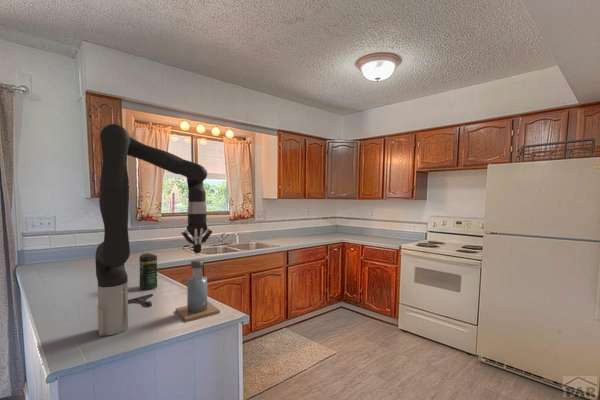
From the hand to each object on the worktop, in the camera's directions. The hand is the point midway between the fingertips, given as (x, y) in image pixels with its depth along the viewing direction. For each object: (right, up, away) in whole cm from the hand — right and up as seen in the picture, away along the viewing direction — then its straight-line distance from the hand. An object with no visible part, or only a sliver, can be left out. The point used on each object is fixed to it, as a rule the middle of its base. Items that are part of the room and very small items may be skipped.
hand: (197, 253), depth 123 cm
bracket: (-29, -26, +11) cm, 41 cm away
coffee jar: (-38, -25, +33) cm, 57 cm away
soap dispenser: (0, -25, 0) cm, 25 cm away
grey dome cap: (+1, -11, -1) cm, 11 cm away
